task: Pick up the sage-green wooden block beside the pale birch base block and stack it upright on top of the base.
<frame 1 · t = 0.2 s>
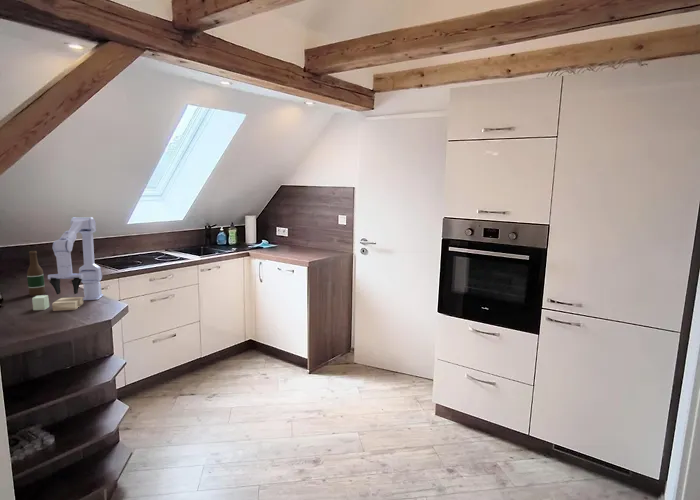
hand: (67, 293, 205), 10 cm above the counter, tool pointing down, fingers open, 7 cm apart
sage block: (41, 308, 214), on the counter
beer bottle: (37, 294, 239), on the counter
birch base: (68, 307, 217), on the counter
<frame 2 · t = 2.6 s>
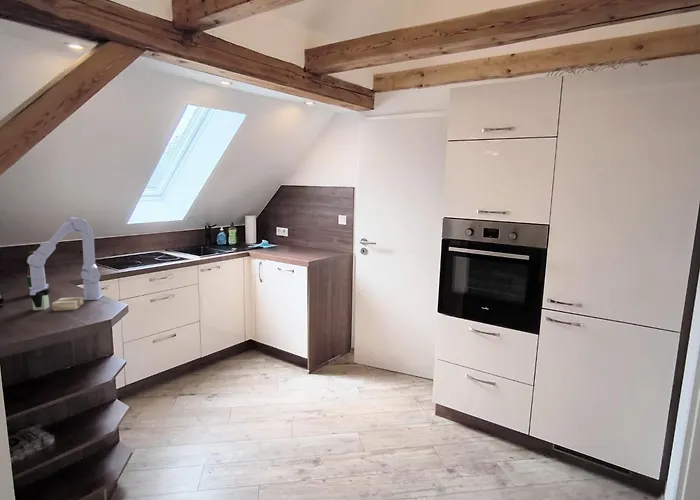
hand: (41, 305, 214), 1 cm above the counter, tool pointing down, fingers closed on sage block, 5 cm apart
sage block: (41, 308, 214), on the counter, touching gripper
everything else where it was.
when the fingers open (6 cm above the counter, at t = 5.6 s): sage block moves 1 cm, point 4 cm above the counter.
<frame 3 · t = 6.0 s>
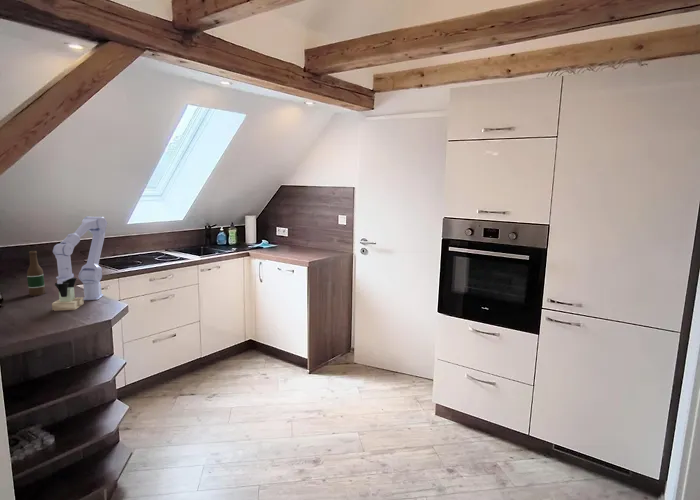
hand: (67, 294, 216), 6 cm above the counter, tool pointing down, fingers open, 7 cm apart
sage block: (67, 300, 216), point 4 cm above the counter
everything else where it was.
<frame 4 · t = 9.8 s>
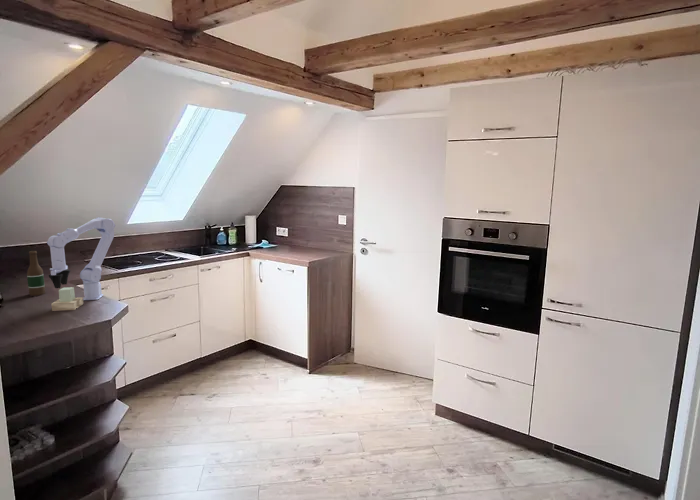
hand: (61, 286, 218), 10 cm above the counter, tool pointing down, fingers open, 7 cm apart
sage block: (67, 300, 216), point 4 cm above the counter, touching birch base
birch base: (68, 308, 217), on the counter, touching sage block
everything else where it was.
at the end: sage block 0.4 cm off-centre on the birch base, point 4.1 cm above the birch base's base; sage block point 3.6 cm above the counter; sage block tilted 2° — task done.
